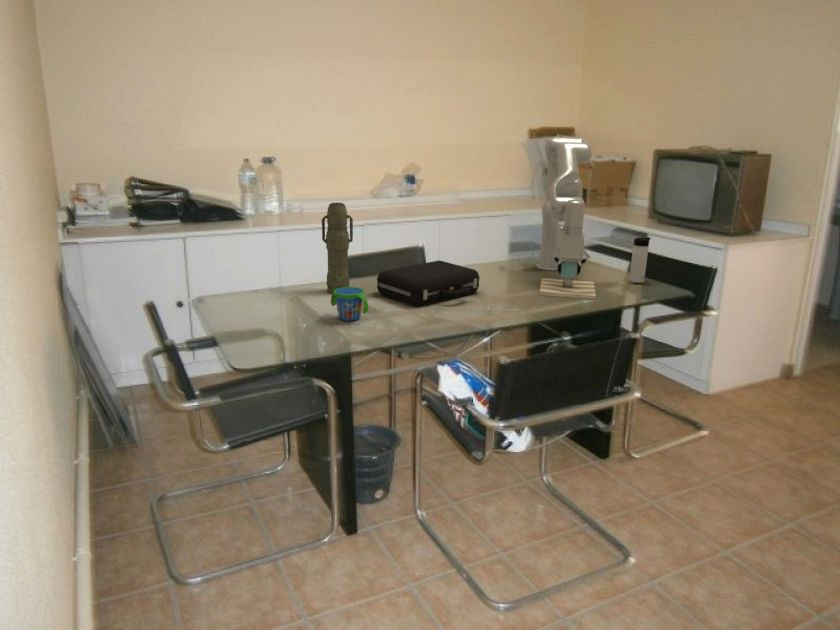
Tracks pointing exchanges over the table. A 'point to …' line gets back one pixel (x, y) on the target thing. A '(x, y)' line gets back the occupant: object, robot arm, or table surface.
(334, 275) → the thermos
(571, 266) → the teal cube
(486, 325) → the table surface
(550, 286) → the post board
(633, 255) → the travel mug
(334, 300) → the snack cup
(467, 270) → the briefcase
